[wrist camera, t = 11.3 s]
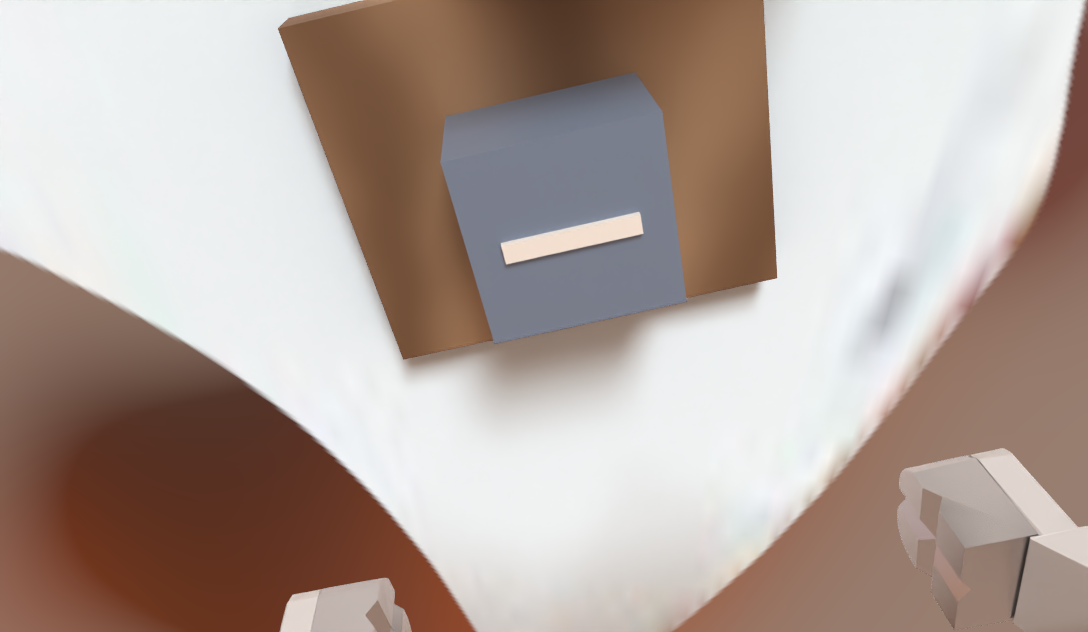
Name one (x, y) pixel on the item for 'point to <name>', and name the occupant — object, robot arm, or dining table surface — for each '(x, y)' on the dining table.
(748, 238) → the board
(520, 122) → the grey drawer unit
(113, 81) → the dining table surface
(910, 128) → the dining table surface
